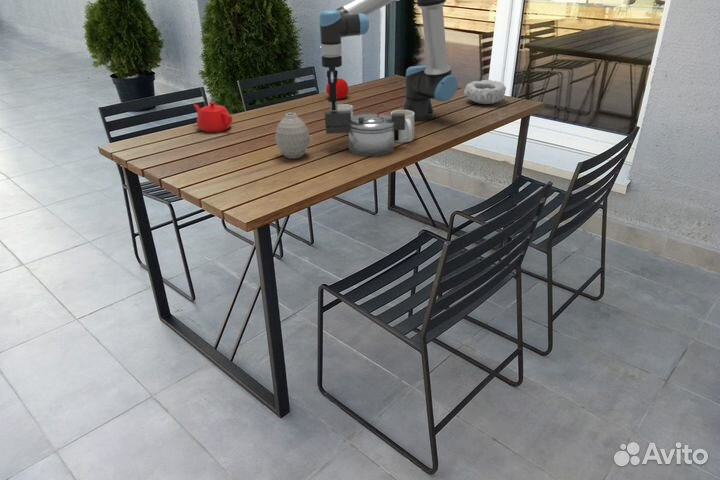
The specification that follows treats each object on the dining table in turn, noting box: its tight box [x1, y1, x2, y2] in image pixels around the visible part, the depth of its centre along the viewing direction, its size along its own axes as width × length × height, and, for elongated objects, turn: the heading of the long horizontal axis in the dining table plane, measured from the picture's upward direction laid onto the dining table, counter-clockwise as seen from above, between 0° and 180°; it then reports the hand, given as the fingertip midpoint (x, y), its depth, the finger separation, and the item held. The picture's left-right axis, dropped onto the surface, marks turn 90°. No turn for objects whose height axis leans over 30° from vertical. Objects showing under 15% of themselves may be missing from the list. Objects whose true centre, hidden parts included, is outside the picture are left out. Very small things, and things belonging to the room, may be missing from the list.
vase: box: [275, 112, 310, 160], centre depth 209 cm, size 13×13×17 cm
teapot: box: [193, 101, 233, 133], centre depth 244 cm, size 25×16×12 cm, turn 53°
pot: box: [324, 123, 405, 157], centre depth 216 cm, size 31×19×10 cm, turn 96°
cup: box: [337, 103, 354, 117], centre depth 241 cm, size 8×12×10 cm
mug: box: [390, 109, 415, 143], centre depth 225 cm, size 10×12×11 cm
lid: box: [324, 111, 405, 131], centre depth 213 cm, size 31×19×5 cm, turn 92°
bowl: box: [463, 79, 507, 105], centre depth 274 cm, size 21×20×10 cm
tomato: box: [326, 77, 350, 100], centre depth 288 cm, size 12×12×10 cm
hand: (334, 117), depth 215 cm, fingers closed
